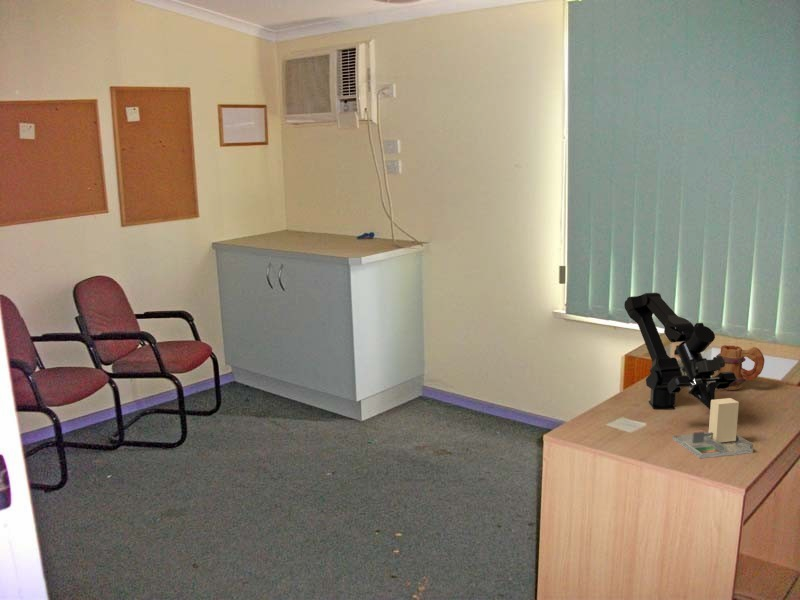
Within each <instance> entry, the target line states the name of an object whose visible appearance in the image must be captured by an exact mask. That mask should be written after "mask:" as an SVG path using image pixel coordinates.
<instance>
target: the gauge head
mask: <svg viewBox="0 0 800 600" xmlns="http://www.w3.org/2000/svg"><path fill="white" fill-rule="evenodd" d="M739 404H740V403H739V401H738V400H735V399H733V398H732V397H731V398H730V397H727V398H717V399H716V398H715V400H711V407H710V409H709V422H708V424H709V425H708V432H704V436H710V437H712V438H713V439H715V440H717V441H718V442H728V441H736V434H737V430H738V420H739V418H738V417H739Z"/></svg>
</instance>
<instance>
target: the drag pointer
mask: <svg viewBox="0 0 800 600" xmlns="http://www.w3.org/2000/svg"><path fill="white" fill-rule="evenodd" d="M704 433H705V431H704V430H701V431H697V430H695V431H694V430H693V431H692V434H693V438H692V443H702V442H704Z"/></svg>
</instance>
